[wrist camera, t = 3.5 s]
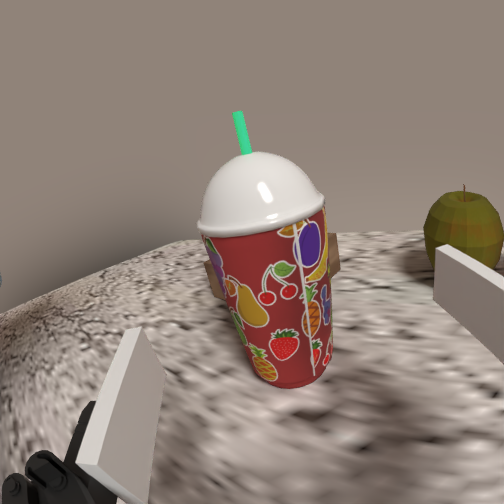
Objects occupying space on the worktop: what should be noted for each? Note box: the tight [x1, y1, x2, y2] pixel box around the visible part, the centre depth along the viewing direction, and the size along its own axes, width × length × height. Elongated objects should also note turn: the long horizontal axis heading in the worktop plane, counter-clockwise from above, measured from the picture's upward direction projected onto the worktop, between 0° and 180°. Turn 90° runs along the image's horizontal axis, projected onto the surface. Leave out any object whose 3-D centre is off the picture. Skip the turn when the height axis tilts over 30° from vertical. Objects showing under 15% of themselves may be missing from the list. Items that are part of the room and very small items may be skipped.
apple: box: [423, 185, 504, 272], centre depth 26 cm, size 10×10×11 cm
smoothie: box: [197, 111, 333, 389], centre depth 20 cm, size 8×8×20 cm
